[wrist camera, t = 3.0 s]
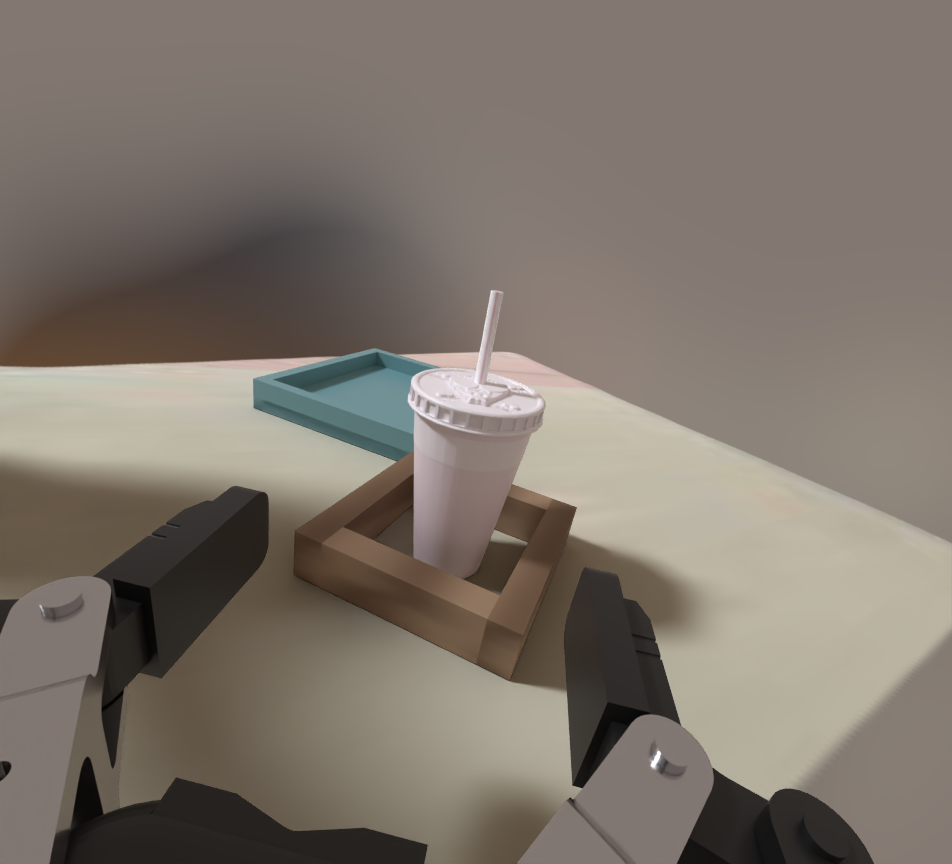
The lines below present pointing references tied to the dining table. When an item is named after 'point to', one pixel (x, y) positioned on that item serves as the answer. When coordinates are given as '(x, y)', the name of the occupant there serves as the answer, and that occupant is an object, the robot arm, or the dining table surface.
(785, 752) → the dining table surface
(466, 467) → the smoothie
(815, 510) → the dining table surface
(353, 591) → the collar
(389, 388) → the tray
